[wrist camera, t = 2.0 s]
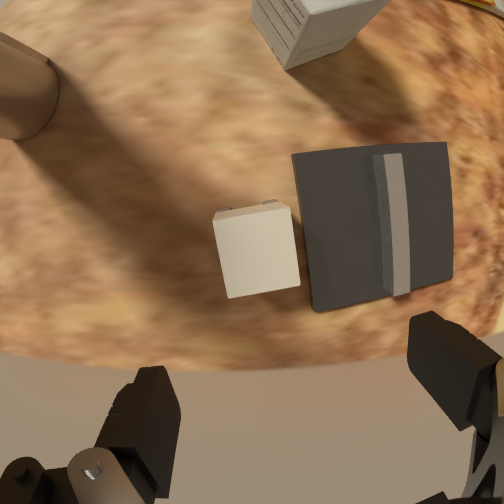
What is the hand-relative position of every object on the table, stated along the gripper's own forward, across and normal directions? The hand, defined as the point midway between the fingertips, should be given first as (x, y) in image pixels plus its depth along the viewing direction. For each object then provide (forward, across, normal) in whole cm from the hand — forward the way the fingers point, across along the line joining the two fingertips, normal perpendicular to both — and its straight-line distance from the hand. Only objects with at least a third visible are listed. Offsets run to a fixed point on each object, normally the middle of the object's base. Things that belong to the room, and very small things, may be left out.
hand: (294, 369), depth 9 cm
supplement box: (+22, -8, -20) cm, 31 cm away
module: (+22, 0, 0) cm, 22 cm away
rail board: (+22, -14, +1) cm, 26 cm away
